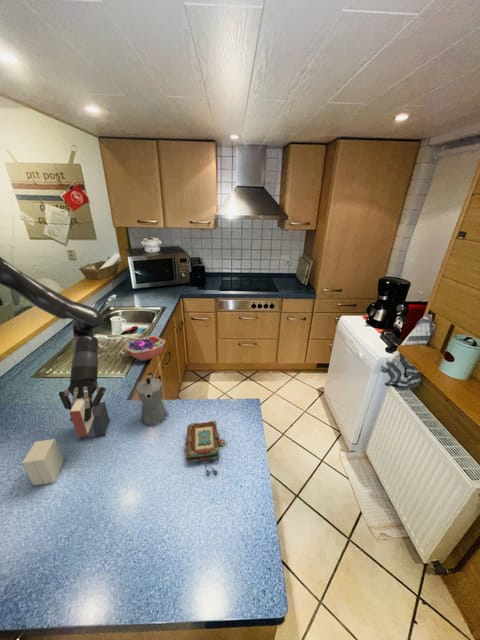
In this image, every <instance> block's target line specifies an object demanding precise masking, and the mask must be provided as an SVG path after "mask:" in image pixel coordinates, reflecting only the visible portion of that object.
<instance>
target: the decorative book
mask: <svg viewBox="0 0 480 640" xmlns="http://www.w3.org/2000/svg"><path fill="white" fill-rule="evenodd" d="M217 425H218V424H217V420H210V421H207V422H199V423H198V422H190V424H188V425H187V428H186V438H185V448H186V451H185V452H186V453H185V460H186V461H187V462H190V463H198V462H199V461H205V462H204V466H205V469H206V475H208V476H209V475H210V470H208V468H207V464H208V466H209V467H211V468H212V471H213V473H214V475H217V473H218V471H217V470H215V469H214V467H213V466H211V465H210V464H209V462H208V461H207V460H213V461H214V460H219V459H220V450H219V449H220V448H219V446H220V447H224V446H225V444H226V441H225V439H223V438H220V435H219V432H218V430H217V427H218V426H217Z"/></svg>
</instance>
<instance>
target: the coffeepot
mask: <svg viewBox="0 0 480 640" xmlns="http://www.w3.org/2000/svg"><path fill="white" fill-rule="evenodd" d="M135 390H136V393H137V396H138V398H139V401H140V402H141V420H142V422H143V423H144V425H148V426H154V425H155V426H156V425H157V424H159V423H161V422H163V421H164V419H165V418H166V416H167V410H166V409H165V406H164V403H163V401H162V398H163V382H162V381H161V379H160V378H157V377H153V373H152V372H148V373H147V378H145V379H142V380H141V381H139V382H138V384H137V385H136V387H135Z"/></svg>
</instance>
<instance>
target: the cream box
mask: <svg viewBox="0 0 480 640" xmlns="http://www.w3.org/2000/svg"><path fill="white" fill-rule="evenodd" d="M21 464H22V466H23V468H24V469H25V473H26V474H27V476H28V477H29V479H30V481H31V483H32V485H33V486H41V485H46V484H52V483H55V481H56V479H57V478H58V475H59V472H60V470H61V469H62V465H63V464H64V457H63V455H62V453H61V450H60V448H59V445H58V443H57V441H56V438H50V439H45V440H38V441H34V443H33V445H32V446H31V448H30V449H29V451H28V452H27V454H26V455H25V458H24V459H23V461H22V462H21Z"/></svg>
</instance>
